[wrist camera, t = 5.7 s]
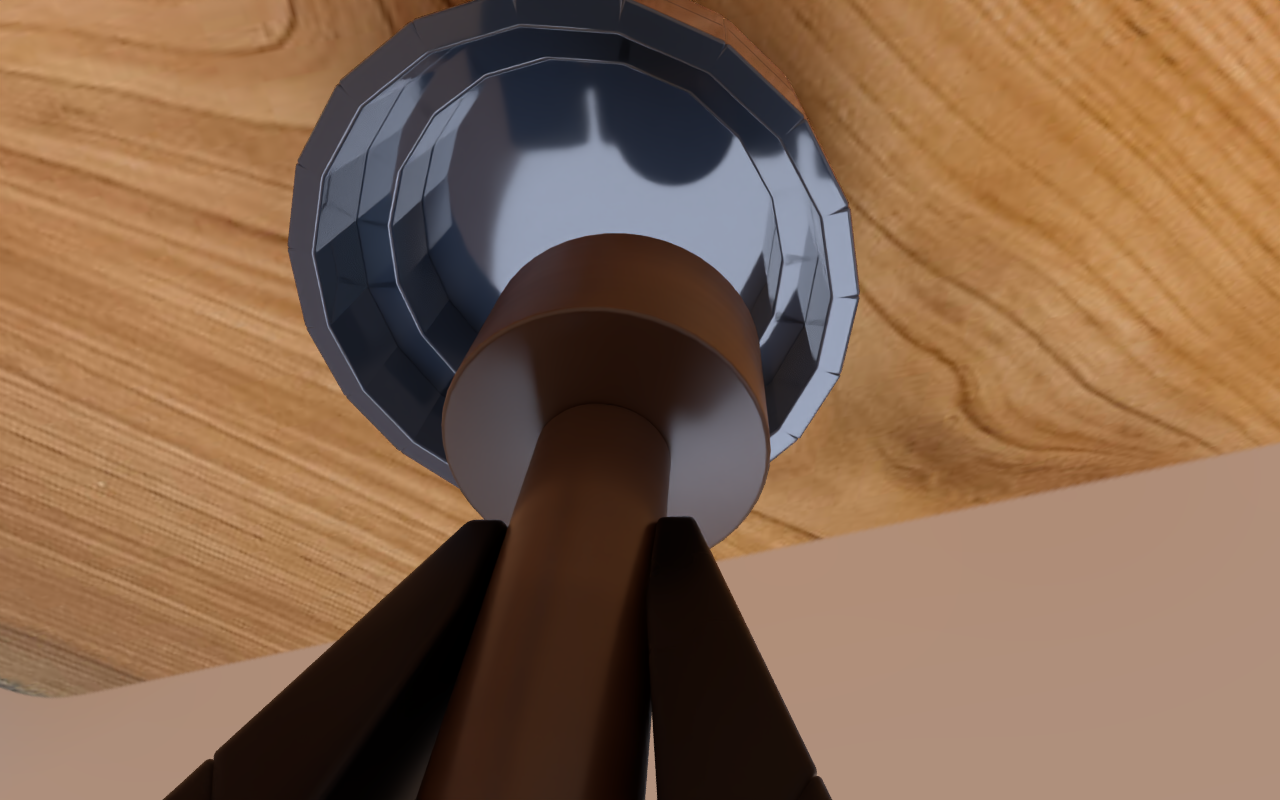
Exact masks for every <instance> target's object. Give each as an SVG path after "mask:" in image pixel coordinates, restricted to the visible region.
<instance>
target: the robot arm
mask: <svg viewBox="0 0 1280 800" xmlns="http://www.w3.org/2000/svg"><path fill="white" fill-rule="evenodd" d="M507 528H508V527H507V525H506V524H505V522H503V521H502V520H498V519H494V520H472V521H469V522H467V523H466V524H464V525H463V526H462V527H461V528H460V529H459V530H458V531H457V532H456V533H455V534H453V535H452V536H451V537H450V538H449V539H448V540H447V541H446V542H445V543H444V544H442V545H441V546H440V547H439V548H438V549H437V550H436V551H435V552H434V553H433V554H432V555H430V556H429V557H428V558H427V559H426V560H425V561H424V562H423V563H422V564H421V565H420V566H418V567H417V568H416V569H415V570H414V571H413V572H412V573H411V574H410V575H409V576H407V577H406V578H405V579H404V580H403V581H402V582H401V583H400V584H399V585H398V586H397V587H395V588H394V589H393V590H392V591H391V592H390V593H389V594H388V595H387V596H386V597H385V598H383V599H382V600H381V601H380V602H379V603H378V604H377V605H376V606H375V607H374V608H372V609H371V610H370V611H369V612H368V613H367V614H366V615H365V616H364V617H363V618H362V619H360V620H359V621H358V622H357V623H356V624H355V625H354V626H353V627H352V628H351V629H350V630H348V631H347V632H346V633H345V634H344V635H343V636H342V637H341V638H340V639H339V640H337V641H336V642H335V643H334V644H333V645H332V646H331V647H330V648H329V649H328V650H327V651H326V652H324V653H323V654H322V655H321V656H320V657H319V658H318V659H317V660H316V661H315V662H313V663H312V664H311V665H310V666H309V667H308V668H307V669H306V670H305V671H304V672H303V673H302V674H300V675H299V676H298V677H297V678H296V679H295V680H294V681H293V682H292V683H291V684H289V685H288V686H287V687H286V688H285V689H284V690H283V691H282V692H281V693H280V694H278V695H277V696H276V697H275V698H274V699H273V700H272V701H271V702H270V703H269V704H268V705H266V706H265V707H264V708H263V709H262V710H261V711H260V712H259V713H258V714H257V715H256V716H254V717H253V718H252V719H251V720H250V721H249V722H248V723H247V724H246V725H245V726H244V727H242V728H241V729H240V730H239V731H238V732H237V733H236V734H235V735H234V736H232V737H231V738H230V739H229V740H228V741H227V742H226V743H225V744H224V745H223V746H222V747H220V748H219V749H218V750H217V751H216V753H215V754H214V760H213V759H208V760H206V761H205V762H204V763H203V764H202V765H200V766H199V767H198V768H197V769H196V770H195V771H194V772H193V773H192V774H191V775H189V776H188V777H187V778H186V779H185V780H184V781H183V782H182V783H181V784H180V785H178V786H177V787H176V788H175V789H174V790H173V791H172V792H171V793H170V794H169V795H167V796H166V797H165V798H164V799H163V800H416V797H417V794H418V791H419V788H420V785H421V782H422V779H423V776H424V773H425V770H426V767H427V764H428V762H429V759H430V756H431V753H432V750H433V747H434V744H435V741H436V738H437V735H438V732H439V729H440V726H441V723H442V720H443V717H444V714H445V711H446V708H447V705H448V703H449V700H450V697H451V694H452V691H453V688H454V685H455V682H456V679H457V676H458V673H459V670H460V667H461V664H462V661H463V658H464V655H465V652H466V649H467V646H468V644H469V641H470V638H471V635H472V632H473V629H474V626H475V623H476V620H477V617H478V614H479V611H480V608H481V605H482V602H483V599H484V596H485V593H486V590H487V587H488V585H489V582H490V579H491V576H492V573H493V570H494V567H495V564H496V561H497V558H498V555H499V552H500V549H501V546H502V543H503V540H504V537H505V534H506V531H507ZM646 622H647V638H648V655H649V671H650V687H651V704H652V720H653V736H654V752H655V769H656V784H657V800H832V799H831V797H830V795H829V793H828V791H827V789H826V786H825V784H824V782H823V780H822V779H821V778H820V777H819V776H817V771H816V767H815V765H814V763H813V761H812V759H811V757H810V755H809V752H808V751H807V749H806V746H805V744H804V742H803V740H802V738H801V736H800V734H799V732H798V730H797V728H796V726H795V724H794V722H793V720H792V718H791V715H790V713H789V711H788V709H787V707H786V705H785V703H784V701H783V699H782V697H781V695H780V693H779V691H778V689H777V687H776V685H775V683H774V680H773V679H772V677H771V674H770V672H769V670H768V668H767V666H766V664H765V662H764V660H763V658H762V656H761V654H760V652H759V650H758V648H757V646H756V644H755V641H754V639H753V637H752V635H751V634H750V631H749V629H748V627H747V625H746V623H745V621H744V619H743V617H742V615H741V613H740V611H739V608H738V607H737V605H736V602H735V600H734V598H733V596H732V594H731V592H730V590H729V588H728V586H727V584H726V582H725V580H724V578H723V576H722V574H721V571H720V569H719V567H718V565H717V563H716V561H715V559H714V557H713V555H712V553H711V551H710V549H709V547H708V545H707V543H706V541H705V539H704V537H703V534H702V532H701V530H700V528H699V526H698V524H697V522H696V521H695V519H694V518H692V517H690V516H671V517H661V518H660V519H659V520H658V522H657V525H656V532H655V539H654V546H653V553H652V560H651V567H650V574H649V581H648V588H647V598H646Z"/></svg>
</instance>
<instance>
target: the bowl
mask: <svg viewBox="0 0 1280 800" xmlns="http://www.w3.org/2000/svg"><path fill="white" fill-rule="evenodd" d="M604 233H628V234H636V235H644V236H648V237H652V238H656V239H660V240H664V241H667V242H669V243H672V244H674V245H677V246H679V247H682V248H684V249H686V250H688V251H690V252H691V253H693V254H695V255H697V256H699V257H700V258H702V259H703V260H704V261H706V262H707V263H709V264H710V265H711V266H713V267H714V268H715V269H716V270H718V271H719V272H720V273H721V274H722V275H723V276H724V277H725V278H726V279H727V280H728V281H729V282H730V283H731V285H732V286H733V287H734V288H735V290H736V291H737V292H738V293H739V295H740V296H741V298H742V299H743V301H744V303H745V305H746V306H747V308H748V310H749V312H750V314H751V317H752V319H753V321H754V324H755V326H756V331H757V335H758V339H759V344H760V352H761V361H762V370H763V379H764V388H765V397H766V406H767V415H768V424H769V433H770V445H771V454H770V462H771V461H772V460H774V459H775V458H776V457H777V456H778V455H780V454H781V453H782V452H783V451H785V450H786V449H787V448H788V447H790V446H791V445H792V444H793V443H795V442H796V441H797V440H798V438H800V437H801V436H802V434H803V433H804V431H805V430H806V428H807V426H808V425H809V423H810V422H811V420H812V419H813V417H814V416H815V414H816V413H817V411H818V410H819V408H820V407H821V405H822V403H823V402H824V400H825V399H826V397H827V396H828V394H829V393H830V391H831V390H832V388H833V387H834V385H835V383H836V382H837V380H838V379H839V377H840V373H841V372H842V368H843V364H844V360H845V356H846V352H847V348H848V343H849V339H850V335H851V331H852V327H853V323H854V319H855V315H856V311H857V306H858V302H859V293H860V288H859V279H858V270H857V261H856V252H855V243H854V234H853V226H852V217H851V209H850V207H849V202H848V200H847V198H846V196H845V194H844V192H843V190H842V188H841V185H840V183H839V181H838V179H837V177H836V175H835V173H834V171H833V169H832V167H831V165H830V162H829V160H828V158H827V156H826V154H825V152H824V150H823V148H822V146H821V144H820V142H819V140H818V138H817V136H816V134H815V132H814V130H813V128H812V126H811V124H810V122H809V120H808V118H807V116H806V114H805V112H804V110H803V108H802V106H801V104H800V102H799V100H798V98H797V96H796V94H795V92H794V90H793V88H792V86H791V84H790V82H789V80H788V78H787V77H785V75H784V73H783V72H782V71H781V70H780V69H779V68H778V67H777V66H776V65H775V64H774V63H773V62H772V61H771V60H770V59H769V58H768V57H767V56H765V55H764V54H763V53H762V52H761V51H760V50H759V49H758V48H757V47H756V46H755V45H754V44H753V43H752V42H751V41H750V40H749V39H748V38H747V37H746V36H745V35H744V34H743V33H742V32H741V31H740V30H739V29H738V28H737V27H736V26H735V25H734V24H732V23H731V22H730V21H729V20H728V19H726V18H725V19H723V16H722V15H721V14H719V13H717V12H715V11H712V10H710V9H708V8H706V7H704V6H701V5H699V4H697V3H695V2H693V1H690V0H472V1H469V2H466V3H463V4H460V5H457V6H453V7H450V8H447V9H444V10H441V11H438V12H434V13H431V14H428V15H425V16H422V17H419V18H415V19H414V20H413V21H411V22H409V23H407V24H406V25H405V26H404V27H403V28H401V29H400V30H399V31H398V32H397V33H395V34H394V35H393V36H392V37H391V38H389V39H388V40H387V41H386V42H385V43H384V44H382V45H381V46H380V47H379V48H378V49H376V50H375V51H374V52H373V53H372V54H370V55H369V56H368V57H367V58H366V59H365V60H363V61H362V62H361V63H360V64H359V65H357V66H356V67H355V68H354V69H353V70H351V71H350V72H349V73H348V74H347V75H345V76H344V77H343V78H342V79H341V80H340V82H339V84H337V85H336V86H335V88H334V90H333V92H332V94H331V96H330V98H329V100H328V102H327V104H326V106H325V108H324V110H323V112H322V114H321V116H320V117H319V119H318V121H317V123H316V125H315V127H314V129H313V131H312V133H311V135H310V137H309V139H308V141H307V143H306V145H305V147H304V149H303V150H302V152H301V154H300V156H299V158H298V163H297V164H296V170H295V179H294V189H293V198H292V208H291V218H290V227H289V237H288V247H289V248H288V253H289V257H290V261H291V266H292V270H293V274H294V279H295V283H296V287H297V291H298V296H299V300H300V304H301V309H302V313H303V317H304V322H305V325H306V327H307V330H308V332H309V334H310V336H311V337H312V339H313V341H314V343H315V344H316V346H317V348H318V350H319V351H320V353H321V355H322V357H323V358H324V360H325V362H326V364H327V365H328V367H329V369H330V371H331V372H332V374H333V376H334V378H335V379H336V381H337V383H338V385H339V386H340V388H341V390H342V392H343V393H344V395H345V396H346V397H347V399H348V400H349V401H350V402H351V403H352V404H353V405H354V406H355V407H356V408H357V409H358V410H359V411H360V412H361V413H362V414H363V415H364V416H365V417H366V418H367V419H368V420H369V421H370V422H371V423H372V424H373V425H374V426H375V427H376V428H377V429H378V430H379V431H380V432H381V433H382V434H383V435H384V436H385V437H386V438H387V439H388V440H389V441H390V442H391V443H392V444H393V445H394V446H395V447H396V449H397V450H399V451H401V452H402V453H403V454H405V455H406V456H408V457H409V458H411V459H413V460H414V461H416V462H417V463H419V464H421V465H422V466H424V467H425V468H427V469H429V470H430V471H432V472H434V473H435V474H437V475H438V476H440V477H442V478H443V479H445V480H446V481H448V482H450V483H451V484H453V485H454V486H456V487H458V485H457V483H456V481H455V479H454V478H453V475H452V473H451V470H450V468H449V465H448V463H447V459H446V455H445V451H444V446H443V440H442V426H441V424H442V413H443V406H444V402H445V398H446V394H447V391H448V388H449V386H450V384H451V382H452V380H453V377H454V375H455V373H456V372H457V370H458V368H459V366H460V365H461V363H462V361H463V359H464V358H465V356H466V354H467V352H468V351H469V349H470V347H471V345H472V344H473V342H474V340H475V338H476V337H477V335H478V333H479V331H480V330H481V328H482V326H483V324H484V323H485V321H486V319H487V317H488V316H489V314H490V312H491V310H492V309H493V307H494V305H495V303H496V302H497V300H498V298H499V296H500V295H501V293H502V292H503V290H504V289H505V287H506V286H507V284H508V283H509V281H510V280H511V279H512V278H513V277H514V276H515V274H516V273H517V272H518V271H519V270H520V269H521V268H522V267H523V266H525V265H526V264H527V263H528V262H530V261H531V260H532V259H533V258H534V257H536V256H538V255H539V254H541V253H543V252H544V251H546V250H548V249H549V248H551V247H554V246H556V245H559V244H561V243H563V242H566V241H568V240H572V239H576V238H580V237H583V236H588V235H596V234H604ZM458 488H459V487H458ZM459 489H460V488H459Z"/></svg>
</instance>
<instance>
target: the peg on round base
mask: <svg viewBox="0 0 1280 800" xmlns="http://www.w3.org/2000/svg"><path fill="white" fill-rule="evenodd" d="M441 426H442V440H443V446H444V451H445V455H446V459H447V463H448V465H449V468H450V470H451V473H452V475H453V478H454V479H455V481H456V483H457V485H458V487H459V488H460V490H461V492H462V493H463V495H464V496H465V497H466V499H467V500H468V501H469V503H470V504H471V505H472V507H473V508H474V509H475V510H476V511H477V512H478V513H479V514H480V515H481V516H482V517H483V518H484V520H494V519H498V520H502V521H503V522H505V524H506V525H507V527H508V528H507V531H506V534H505V537H504V540H503V543H502V546H501V549H500V552H499V555H498V558H497V561H496V564H495V567H494V570H493V573H492V576H491V579H490V582H489V585H488V587H487V590H486V593H485V596H484V599H483V602H482V605H481V608H480V611H479V614H478V617H477V620H476V623H475V626H474V629H473V632H472V635H471V638H470V641H469V644H468V646H467V649H466V652H465V655H464V658H463V661H462V664H461V667H460V670H459V673H458V676H457V679H456V682H455V685H454V688H453V691H452V694H451V697H450V700H449V703H448V705H447V708H446V711H445V714H444V717H443V720H442V723H441V726H440V729H439V732H438V735H437V738H436V741H435V744H434V747H433V750H432V753H431V756H430V759H429V762H428V764H427V767H426V770H425V773H424V776H423V779H422V782H421V785H420V788H419V791H418V794H417V797H416V800H645V794H646V781H647V767H648V755H649V742H650V729H651V716H652V704H651V687H650V671H649V655H648V638H647V622H646V598H647V588H648V581H649V574H650V567H651V560H652V553H653V546H654V539H655V532H656V525H657V522H658V520H659V519H660V518H661V517H671V516H690V517H692V518H694V519H695V521H696V522H697V524H698V526H699V528H700V530H701V532H702V534H703V537H704V539H705V541H706V543H707V545H708V547H709V549H711V548H712V547H714V546H715V545H717V544H718V543H720V542H721V541H723V540H724V539H725V538H726V537H727V536H729V535H730V534H731V533H732V532H733V531H734V530H735V529H737V528H738V526H739V525H740V524H741V523H742V522H743V521H744V520H745V518H746V517H747V516H748V515H749V513H750V512H751V510H752V509H753V507H754V505H755V504H756V502H757V501H758V499H759V497H760V494H761V492H762V490H763V488H764V485H765V483H766V479H767V475H768V471H769V466H770V454H771V445H770V433H769V424H768V415H767V406H766V397H765V388H764V379H763V370H762V361H761V352H760V344H759V339H758V335H757V331H756V326H755V324H754V321H753V319H752V317H751V314H750V312H749V310H748V308H747V306H746V305H745V303H744V301H743V299H742V298H741V296H740V295H739V293H738V292H737V291H736V290H735V288H734V287H733V286H732V285H731V283H730V282H729V281H728V280H727V279H726V278H725V277H724V276H723V275H722V274H721V273H720V272H719V271H718V270H716V269H715V268H714V267H713V266H711V265H710V264H709V263H707V262H706V261H704V260H703V259H702V258H700V257H699V256H697V255H695V254H693V253H691V252H690V251H688V250H686V249H684V248H682V247H679V246H677V245H674V244H672V243H669V242H667V241H664V240H660V239H656V238H652V237H648V236H644V235H636V234H628V233H604V234H596V235H588V236H583V237H580V238H576V239H572V240H568V241H566V242H563V243H561V244H559V245H556V246H554V247H551V248H549V249H548V250H546V251H544V252H543V253H541V254H539V255H538V256H536V257H534V258H533V259H532V260H531V261H530V262H528V263H527V264H526V265H525V266H523V267H522V268H521V269H520V270H519V271H518V272H517V273H516V274H515V276H514V277H513V278H512V279H511V280H510V281H509V283H508V284H507V286H506V287H505V289H504V290H503V292H502V293H501V295H500V296H499V298H498V300H497V302H496V303H495V305H494V307H493V309H492V310H491V312H490V314H489V316H488V317H487V319H486V321H485V323H484V324H483V326H482V328H481V330H480V331H479V333H478V335H477V337H476V338H475V340H474V342H473V344H472V345H471V347H470V349H469V351H468V352H467V354H466V356H465V358H464V359H463V361H462V363H461V365H460V366H459V368H458V370H457V372H456V373H455V375H454V377H453V380H452V382H451V384H450V386H449V388H448V391H447V394H446V398H445V402H444V406H443V413H442V424H441Z"/></svg>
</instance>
